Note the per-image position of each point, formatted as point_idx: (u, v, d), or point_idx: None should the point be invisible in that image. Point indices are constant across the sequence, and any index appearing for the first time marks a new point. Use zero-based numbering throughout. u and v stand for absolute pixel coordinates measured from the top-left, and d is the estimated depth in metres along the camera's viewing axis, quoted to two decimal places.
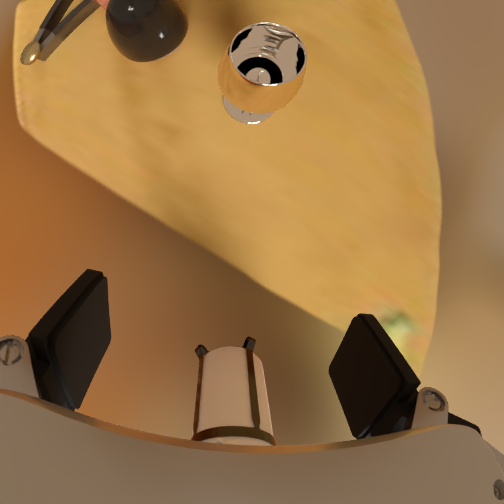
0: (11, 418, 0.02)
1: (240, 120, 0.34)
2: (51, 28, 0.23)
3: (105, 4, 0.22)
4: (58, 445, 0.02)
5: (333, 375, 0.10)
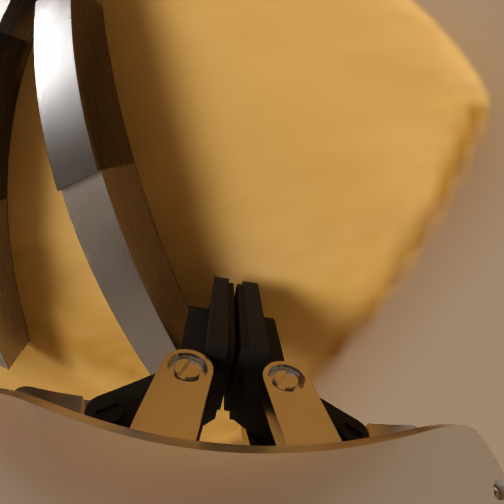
0: (11, 418, 0.02)
1: None
2: None
3: None
4: (58, 445, 0.02)
5: None
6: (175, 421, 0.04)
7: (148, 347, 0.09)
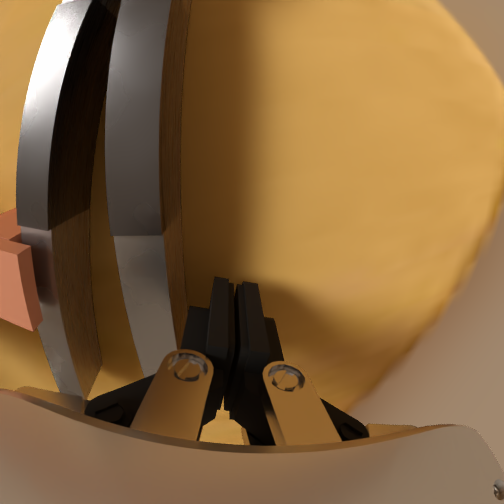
0: (11, 417, 0.02)
1: None
2: None
3: None
4: (58, 445, 0.02)
5: None
6: (175, 421, 0.04)
7: None
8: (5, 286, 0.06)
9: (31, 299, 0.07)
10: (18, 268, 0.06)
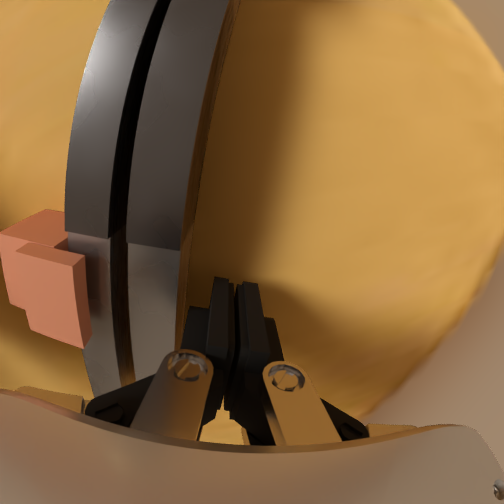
0: (11, 417, 0.02)
1: None
2: None
3: None
4: (58, 445, 0.02)
5: None
6: (175, 421, 0.04)
7: None
8: (51, 300, 0.06)
9: (83, 313, 0.07)
10: (72, 281, 0.06)
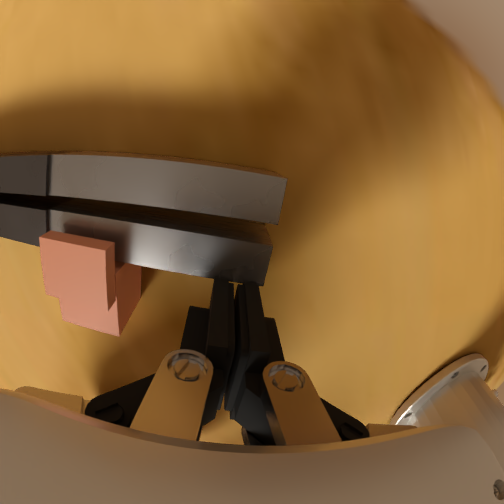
0: (11, 417, 0.02)
1: None
2: None
3: None
4: (58, 445, 0.02)
5: None
6: (175, 421, 0.04)
7: (194, 193, 0.09)
8: (68, 268, 0.08)
9: (82, 241, 0.08)
10: (48, 239, 0.08)
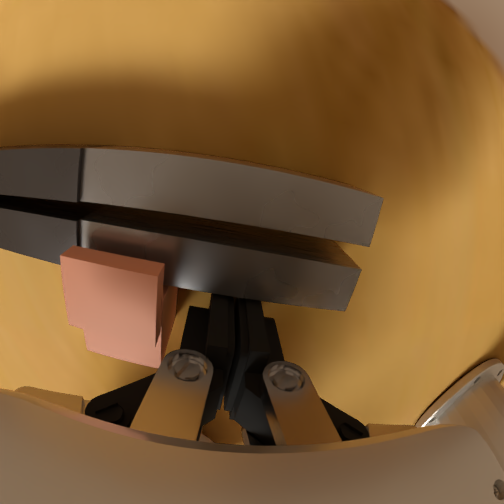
0: (11, 417, 0.02)
1: None
2: None
3: None
4: (58, 445, 0.02)
5: None
6: (175, 421, 0.04)
7: (286, 209, 0.07)
8: (101, 297, 0.07)
9: (120, 262, 0.07)
10: (73, 259, 0.06)
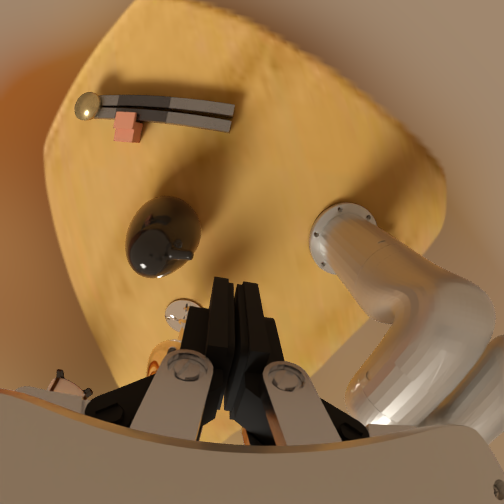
0: (11, 417, 0.02)
1: (167, 322, 0.48)
2: (125, 106, 0.33)
3: None
4: (58, 445, 0.02)
5: None
6: (175, 421, 0.04)
7: (212, 108, 0.33)
8: (123, 118, 0.31)
9: (128, 112, 0.31)
10: None
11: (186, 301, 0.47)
